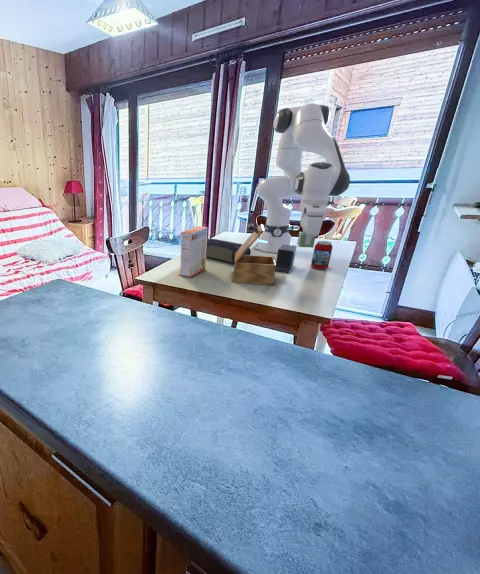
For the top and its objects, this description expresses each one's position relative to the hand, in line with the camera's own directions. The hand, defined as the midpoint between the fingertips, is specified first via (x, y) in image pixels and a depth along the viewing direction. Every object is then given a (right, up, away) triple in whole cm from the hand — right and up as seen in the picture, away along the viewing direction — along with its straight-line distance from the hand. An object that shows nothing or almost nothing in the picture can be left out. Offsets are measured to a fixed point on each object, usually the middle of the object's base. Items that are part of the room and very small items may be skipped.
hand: (305, 241), depth 132 cm
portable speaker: (-18, -4, +38) cm, 43 cm away
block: (0, -1, +1) cm, 2 cm away
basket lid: (-20, 0, +7) cm, 21 cm away
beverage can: (+19, -10, +20) cm, 29 cm away
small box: (+3, -10, +21) cm, 24 cm away
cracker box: (-39, -12, +24) cm, 47 cm away
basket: (-16, -15, +12) cm, 25 cm away
